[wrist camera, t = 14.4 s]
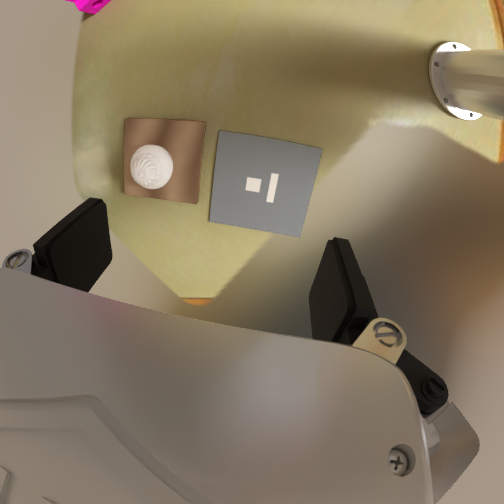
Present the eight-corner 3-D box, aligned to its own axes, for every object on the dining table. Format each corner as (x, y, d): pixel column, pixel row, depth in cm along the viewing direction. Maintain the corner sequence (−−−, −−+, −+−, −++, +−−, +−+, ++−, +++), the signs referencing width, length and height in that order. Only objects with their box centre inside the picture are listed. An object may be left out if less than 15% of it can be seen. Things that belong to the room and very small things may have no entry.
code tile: (322, 148, 35) (322, 149, 34) (299, 236, 42) (299, 237, 42) (219, 130, 34) (219, 130, 34) (209, 220, 42) (209, 221, 42)
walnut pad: (206, 121, 34) (204, 122, 33) (198, 201, 40) (196, 204, 39) (128, 117, 34) (124, 118, 33) (127, 191, 40) (124, 194, 39)
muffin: (135, 150, 35) (110, 164, 30) (169, 132, 34) (148, 141, 28) (153, 186, 38) (132, 205, 32) (188, 170, 37) (171, 187, 31)
